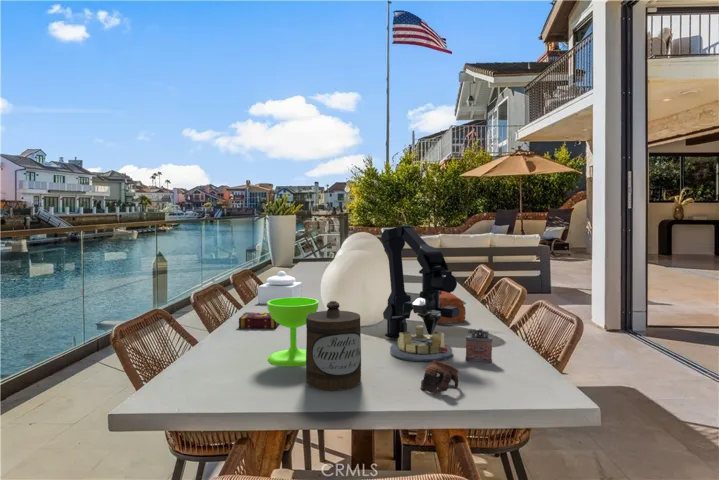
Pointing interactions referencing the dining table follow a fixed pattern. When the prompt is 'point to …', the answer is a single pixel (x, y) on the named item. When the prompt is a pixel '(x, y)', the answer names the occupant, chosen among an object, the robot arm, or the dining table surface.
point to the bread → (451, 300)
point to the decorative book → (257, 321)
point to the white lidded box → (279, 288)
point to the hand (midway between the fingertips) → (430, 334)
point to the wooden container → (333, 349)
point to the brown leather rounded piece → (439, 377)
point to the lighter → (478, 347)
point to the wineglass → (291, 326)
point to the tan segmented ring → (421, 348)
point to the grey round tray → (420, 357)
